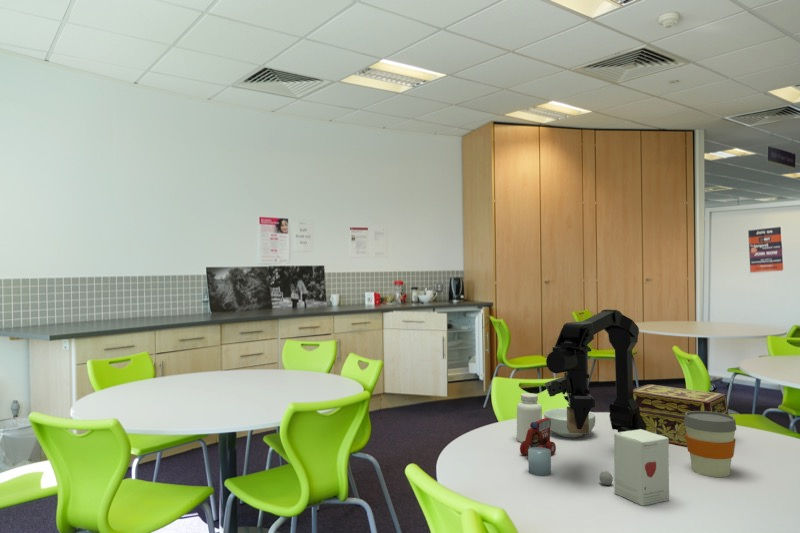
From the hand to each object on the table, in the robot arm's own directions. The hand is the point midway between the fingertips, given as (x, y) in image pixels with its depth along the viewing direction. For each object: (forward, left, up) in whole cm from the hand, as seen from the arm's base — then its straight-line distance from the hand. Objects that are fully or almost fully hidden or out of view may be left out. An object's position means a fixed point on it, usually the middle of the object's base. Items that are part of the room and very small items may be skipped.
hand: (577, 426), depth 153 cm
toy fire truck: (+12, -12, -13) cm, 21 cm away
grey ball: (-7, +7, -11) cm, 15 cm away
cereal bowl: (+4, -38, -13) cm, 40 cm away
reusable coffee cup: (-34, -12, -13) cm, 38 cm away
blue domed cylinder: (+10, +3, -12) cm, 16 cm away
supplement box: (-15, +13, -13) cm, 24 cm away
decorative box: (-30, -45, -13) cm, 55 cm away
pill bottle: (+16, -26, -13) cm, 33 cm away
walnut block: (0, 0, -1) cm, 1 cm away
